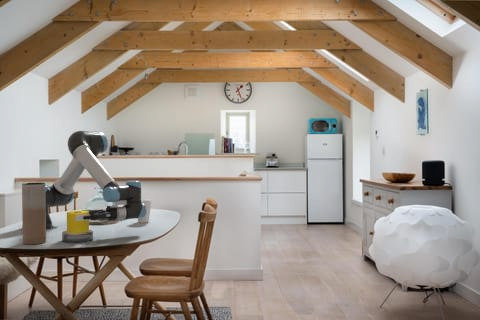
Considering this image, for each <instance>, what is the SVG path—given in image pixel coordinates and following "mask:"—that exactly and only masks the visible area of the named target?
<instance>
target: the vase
mask: <svg viewBox="0 0 480 320" xmlns="http://www.w3.org/2000/svg"><path fill="white" fill-rule="evenodd" d="M45 185H46V182H23V183H21V208H22V210H21V216H22V217H21V218H22V219H21V221H22V222H21V223H22V225H23V229H22V244H23V245H28V246H29V245H30V246H34V245H40V244H41V245H42V244H44V243H46V241H47V229H46V200H45ZM22 225H21V226H22Z"/></svg>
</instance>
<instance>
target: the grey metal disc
mask: <svg viewBox="0 0 480 320" xmlns="http://www.w3.org/2000/svg"><path fill="white" fill-rule="evenodd" d="M93 240H94V231H93V230H92V229H89V232H86V233H79V234H71V233H67V230H64V231H63V232H62V233H61V241H62V243H67V244H68V243H69V244H79V243H87V242H91V241H93Z"/></svg>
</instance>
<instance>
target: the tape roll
mask: <svg viewBox="0 0 480 320" xmlns="http://www.w3.org/2000/svg"><path fill="white" fill-rule="evenodd" d="M85 214H89V211H82V210H71V211H67V212H66V231H67V233H71V234H79V233H86V232H89V230H90V220H84V221H76V215H85Z"/></svg>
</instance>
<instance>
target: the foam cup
mask: <svg viewBox="0 0 480 320" xmlns="http://www.w3.org/2000/svg"><path fill="white" fill-rule="evenodd" d="M141 203H144V204H145V206H146V215H145V216H144V217H142V218H137V223H142V224H144V223H143V222H146V223H150V217H151V216H150V215H151V207H152V199H145V198H143V199H142V198H141Z"/></svg>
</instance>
